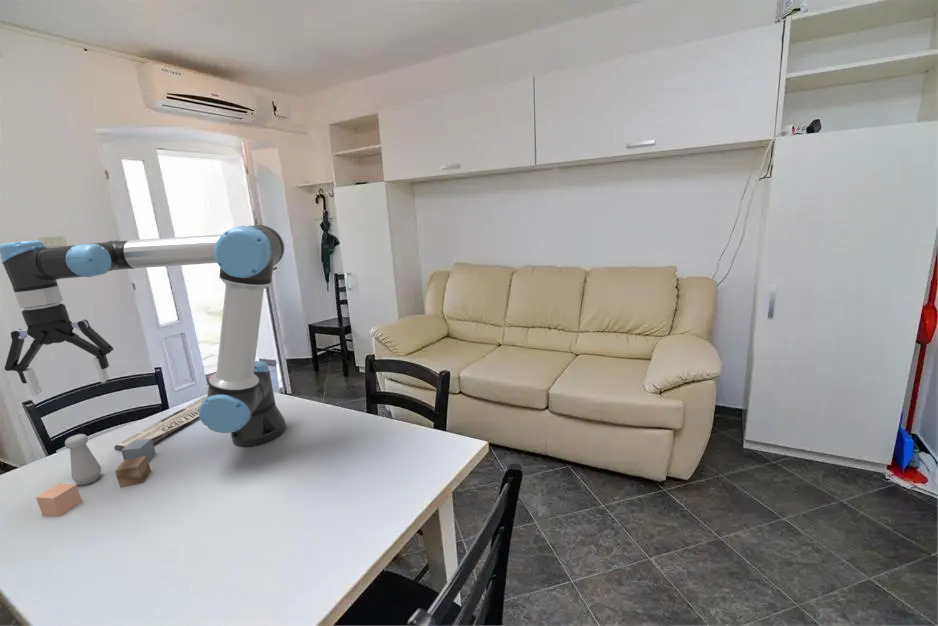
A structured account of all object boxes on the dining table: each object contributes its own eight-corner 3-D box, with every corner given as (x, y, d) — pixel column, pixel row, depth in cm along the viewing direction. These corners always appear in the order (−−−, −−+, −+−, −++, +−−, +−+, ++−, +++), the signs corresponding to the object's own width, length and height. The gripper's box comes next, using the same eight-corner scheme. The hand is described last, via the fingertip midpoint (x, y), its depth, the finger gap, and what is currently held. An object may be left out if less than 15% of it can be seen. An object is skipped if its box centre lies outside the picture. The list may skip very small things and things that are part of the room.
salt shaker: (86, 488, 107) (70, 443, 104) (68, 486, 108) (53, 442, 105) (109, 474, 113) (95, 431, 109) (92, 472, 114) (78, 430, 111)
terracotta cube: (82, 502, 102) (76, 484, 101) (59, 516, 97) (53, 498, 96) (65, 500, 103) (59, 483, 102) (42, 515, 98) (35, 497, 97)
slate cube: (155, 453, 122) (151, 438, 120) (144, 463, 117) (140, 448, 115) (137, 455, 121) (133, 440, 120) (125, 466, 116) (120, 450, 115)
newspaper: (205, 400, 157) (203, 391, 156) (233, 401, 154) (232, 392, 154) (110, 453, 124) (107, 443, 123) (144, 456, 121) (141, 445, 120)
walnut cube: (151, 472, 113) (146, 455, 111) (142, 483, 108) (137, 466, 107) (129, 476, 111) (124, 459, 110) (120, 487, 107) (115, 470, 105)
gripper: (112, 295, 108) (136, 371, 113) (-17, 312, 98) (15, 394, 104) (101, 300, 101) (126, 380, 106) (-39, 318, 92) (-3, 406, 97)
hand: (72, 387), depth 105 cm, fingers open, 13 cm apart
